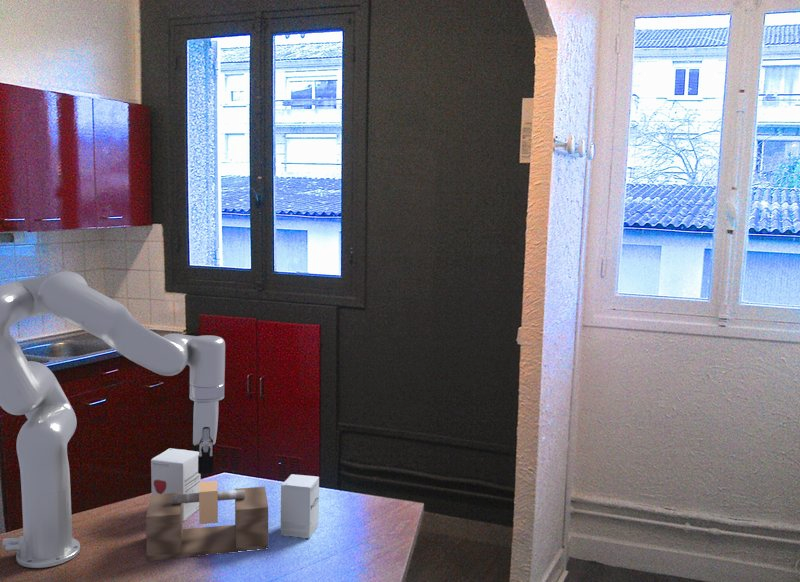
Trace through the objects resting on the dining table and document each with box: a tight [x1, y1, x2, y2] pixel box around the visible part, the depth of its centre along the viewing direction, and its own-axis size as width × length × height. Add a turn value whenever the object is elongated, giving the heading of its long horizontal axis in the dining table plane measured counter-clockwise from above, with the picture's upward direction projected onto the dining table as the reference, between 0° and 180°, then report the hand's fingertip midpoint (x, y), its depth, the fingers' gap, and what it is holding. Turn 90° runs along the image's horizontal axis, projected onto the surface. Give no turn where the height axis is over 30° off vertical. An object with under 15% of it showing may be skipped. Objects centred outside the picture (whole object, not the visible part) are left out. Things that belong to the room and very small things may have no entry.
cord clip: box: [198, 480, 219, 525], centre depth 166 cm, size 4×6×8 cm, turn 14°
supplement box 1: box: [150, 447, 202, 522], centre depth 182 cm, size 9×9×15 cm
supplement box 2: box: [280, 473, 320, 540], centre depth 174 cm, size 7×7×13 cm
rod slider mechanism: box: [145, 486, 269, 562], centre depth 167 cm, size 26×12×12 cm, turn 104°
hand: (205, 465), depth 165 cm, fingers open, 9 cm apart
